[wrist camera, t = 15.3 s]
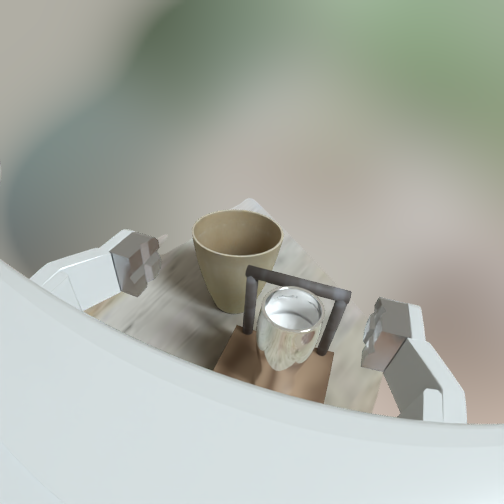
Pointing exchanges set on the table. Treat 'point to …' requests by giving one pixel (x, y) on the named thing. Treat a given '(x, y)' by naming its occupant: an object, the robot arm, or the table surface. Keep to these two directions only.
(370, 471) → the robot arm
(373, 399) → the table surface
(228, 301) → the plant pot
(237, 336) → the dolly
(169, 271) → the table surface
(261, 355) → the beer glass
